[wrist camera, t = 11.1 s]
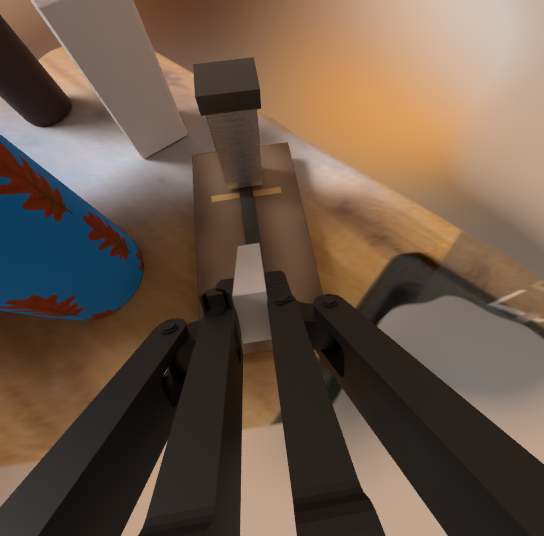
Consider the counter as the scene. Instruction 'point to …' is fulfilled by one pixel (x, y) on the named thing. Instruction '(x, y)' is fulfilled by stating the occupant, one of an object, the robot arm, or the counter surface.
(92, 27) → the milk carton
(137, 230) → the counter surface
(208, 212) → the console
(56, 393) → the counter surface
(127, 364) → the robot arm
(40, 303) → the thermos
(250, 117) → the fader handle
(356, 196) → the counter surface
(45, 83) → the bottle
